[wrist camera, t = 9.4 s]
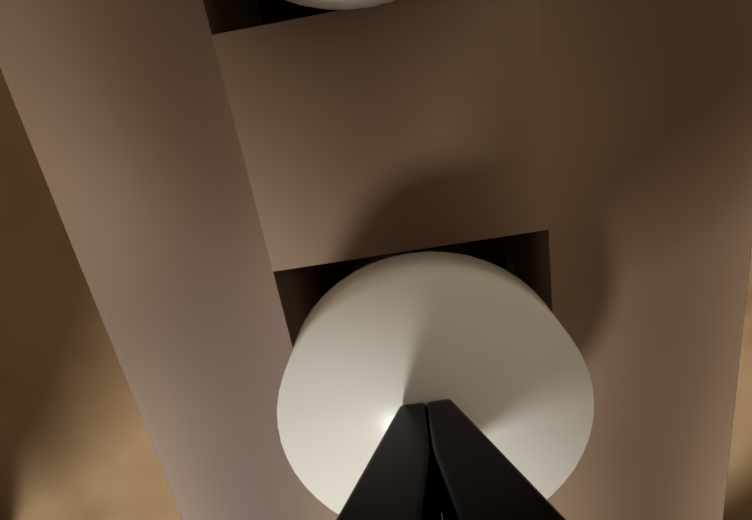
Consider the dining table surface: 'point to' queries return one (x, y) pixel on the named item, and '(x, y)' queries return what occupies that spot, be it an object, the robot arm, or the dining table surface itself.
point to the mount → (403, 208)
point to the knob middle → (340, 3)
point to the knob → (432, 368)
